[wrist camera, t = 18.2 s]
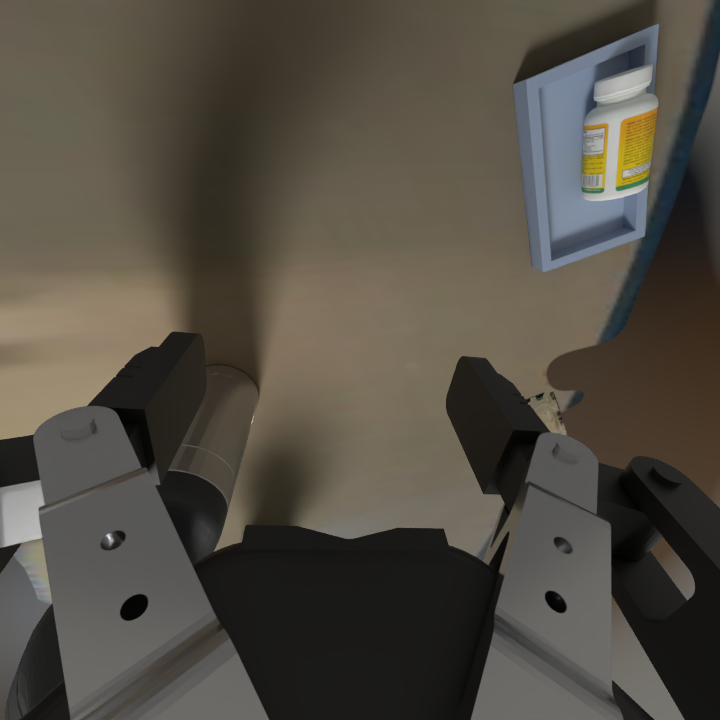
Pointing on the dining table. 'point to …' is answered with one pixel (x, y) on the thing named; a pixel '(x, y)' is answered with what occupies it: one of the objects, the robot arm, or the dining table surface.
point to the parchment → (550, 415)
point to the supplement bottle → (619, 136)
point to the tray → (574, 155)
